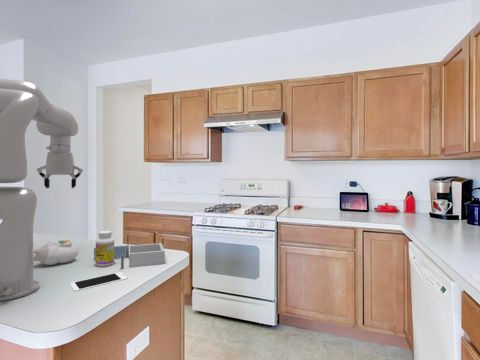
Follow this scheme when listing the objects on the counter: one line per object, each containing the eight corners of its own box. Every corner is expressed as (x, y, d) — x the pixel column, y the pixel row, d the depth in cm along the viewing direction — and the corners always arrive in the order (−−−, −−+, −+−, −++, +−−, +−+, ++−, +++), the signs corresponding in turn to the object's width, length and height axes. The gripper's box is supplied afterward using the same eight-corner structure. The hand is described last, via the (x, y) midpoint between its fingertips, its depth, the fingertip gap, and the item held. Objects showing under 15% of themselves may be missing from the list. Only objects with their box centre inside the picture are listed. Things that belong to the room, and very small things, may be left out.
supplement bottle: (91, 265, 107) (91, 232, 106) (106, 260, 112) (107, 229, 112) (102, 268, 103) (102, 234, 103) (117, 263, 109) (118, 231, 109)
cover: (128, 257, 117) (128, 245, 117) (93, 260, 112) (93, 248, 112) (128, 256, 118) (128, 244, 118) (94, 259, 113) (94, 247, 113)
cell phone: (128, 279, 94) (128, 277, 94) (74, 292, 83) (74, 290, 83) (120, 273, 99) (120, 271, 99) (69, 284, 89) (69, 283, 89)
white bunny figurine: (79, 236, 114) (35, 237, 104) (82, 250, 109) (35, 252, 99) (74, 253, 117) (31, 256, 107) (76, 267, 112) (31, 271, 102)
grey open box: (164, 264, 109) (164, 251, 109) (120, 268, 103) (120, 255, 103) (161, 254, 122) (161, 243, 122) (122, 257, 116) (122, 246, 116)
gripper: (34, 147, 114) (34, 188, 115) (81, 149, 121) (81, 188, 121) (39, 149, 121) (39, 187, 122) (84, 150, 128) (84, 187, 128)
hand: (60, 187), depth 121 cm, fingers open, 9 cm apart
